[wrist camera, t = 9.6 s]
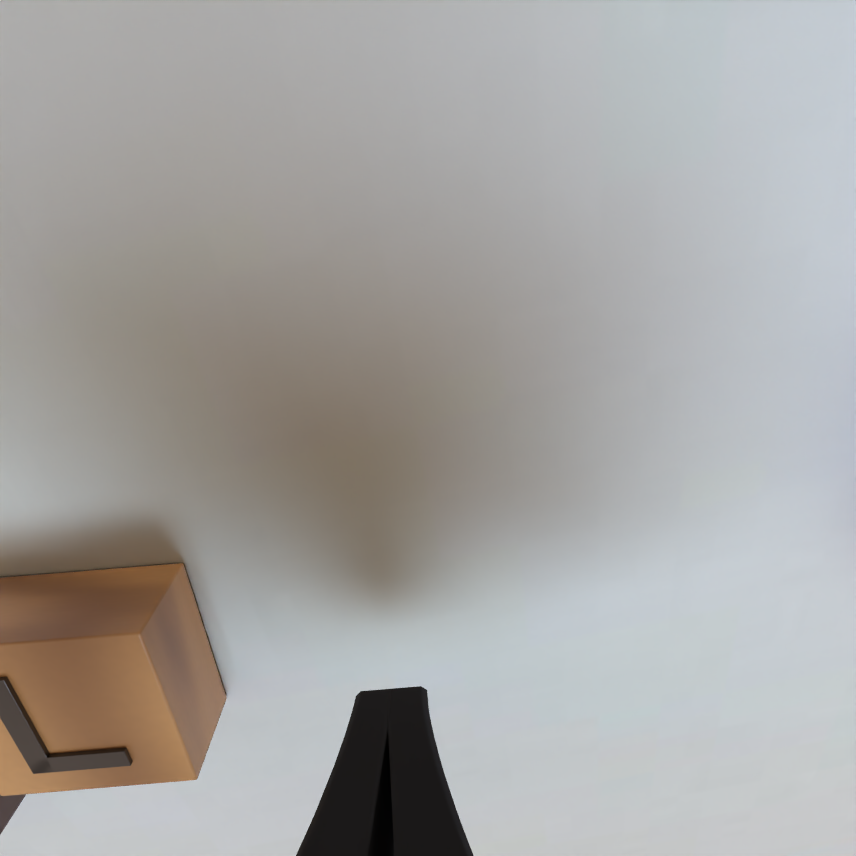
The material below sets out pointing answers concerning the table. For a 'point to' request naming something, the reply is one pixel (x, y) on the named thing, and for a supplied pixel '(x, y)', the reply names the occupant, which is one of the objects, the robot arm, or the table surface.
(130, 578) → the l tile
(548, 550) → the table surface
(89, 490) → the table surface
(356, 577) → the table surface
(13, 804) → the frame
